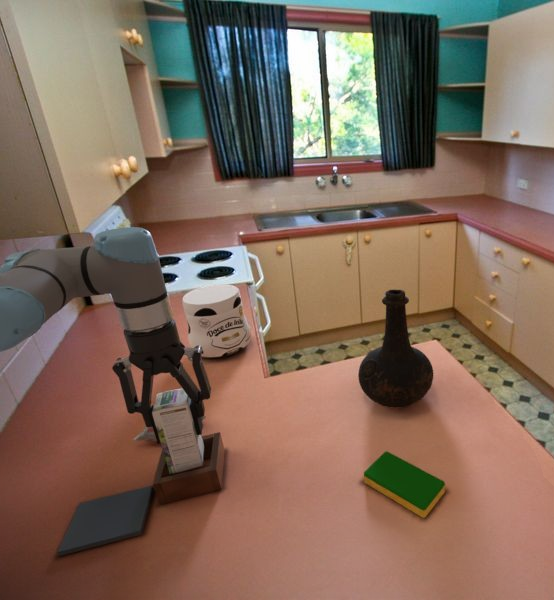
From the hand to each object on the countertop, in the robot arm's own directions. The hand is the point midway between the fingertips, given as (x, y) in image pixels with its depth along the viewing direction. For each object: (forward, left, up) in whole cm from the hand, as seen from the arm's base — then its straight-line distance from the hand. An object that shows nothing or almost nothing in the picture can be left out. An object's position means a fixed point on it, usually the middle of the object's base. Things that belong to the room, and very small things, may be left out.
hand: (180, 434), depth 79 cm
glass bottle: (+45, +11, -11) cm, 48 cm away
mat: (-13, -6, -10) cm, 18 cm away
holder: (0, 0, -10) cm, 10 cm away
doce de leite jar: (+3, +52, -11) cm, 53 cm away
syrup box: (0, 0, -7) cm, 7 cm away
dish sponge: (+38, -16, -11) cm, 43 cm away
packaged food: (-6, +14, -11) cm, 19 cm away
